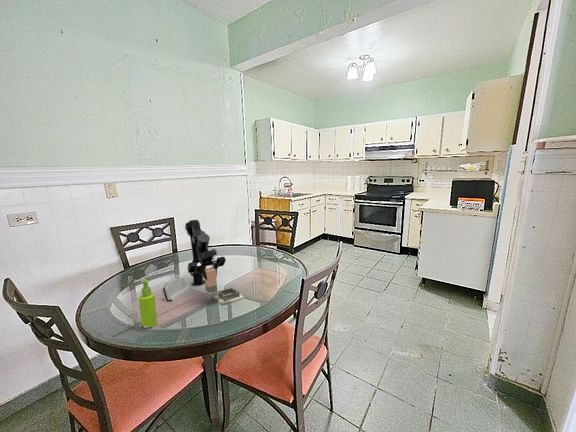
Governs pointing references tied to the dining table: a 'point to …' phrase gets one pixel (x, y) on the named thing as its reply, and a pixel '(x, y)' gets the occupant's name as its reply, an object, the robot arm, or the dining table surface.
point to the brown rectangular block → (210, 280)
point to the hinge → (175, 289)
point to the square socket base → (228, 296)
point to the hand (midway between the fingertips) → (211, 278)
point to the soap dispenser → (147, 305)
